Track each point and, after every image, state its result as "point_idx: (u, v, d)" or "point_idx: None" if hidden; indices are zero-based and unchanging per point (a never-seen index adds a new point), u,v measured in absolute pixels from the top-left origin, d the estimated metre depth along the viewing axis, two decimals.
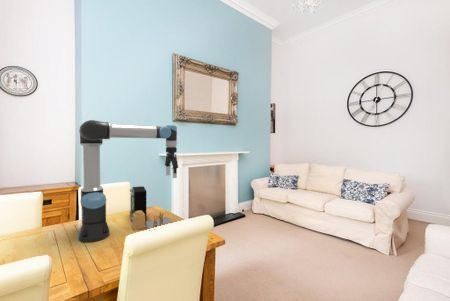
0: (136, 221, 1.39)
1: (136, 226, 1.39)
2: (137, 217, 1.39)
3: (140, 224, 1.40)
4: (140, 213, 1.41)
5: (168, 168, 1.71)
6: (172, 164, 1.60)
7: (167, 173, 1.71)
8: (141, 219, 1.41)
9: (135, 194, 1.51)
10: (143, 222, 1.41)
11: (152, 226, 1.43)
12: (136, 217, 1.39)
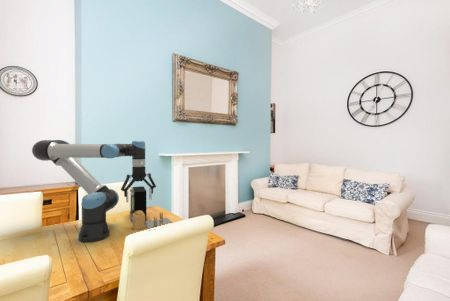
0: (136, 221, 1.39)
1: (136, 226, 1.39)
2: (137, 217, 1.39)
3: (140, 224, 1.40)
4: (140, 213, 1.41)
5: (149, 191, 1.45)
6: None
7: (149, 196, 1.46)
8: (141, 219, 1.41)
9: (135, 194, 1.51)
10: (143, 222, 1.41)
11: (152, 226, 1.43)
12: (136, 217, 1.39)
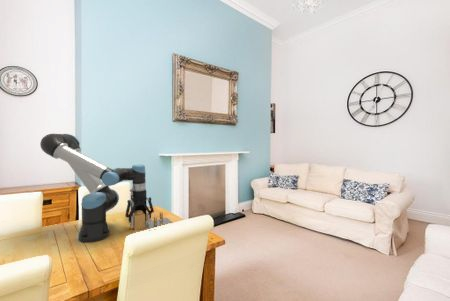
0: (136, 221, 1.39)
1: (136, 226, 1.39)
2: (137, 217, 1.39)
3: (140, 224, 1.40)
4: (140, 213, 1.41)
5: (147, 216, 1.45)
6: None
7: (147, 221, 1.46)
8: (141, 219, 1.41)
9: None
10: (143, 222, 1.41)
11: (152, 226, 1.43)
12: (136, 217, 1.39)
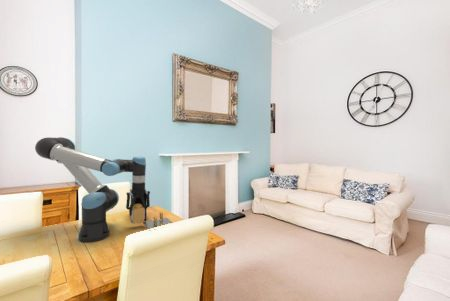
0: (135, 214, 1.39)
1: (135, 219, 1.39)
2: (136, 210, 1.39)
3: (139, 217, 1.40)
4: (139, 206, 1.41)
5: None
6: None
7: None
8: (140, 212, 1.40)
9: None
10: (142, 215, 1.41)
11: (152, 226, 1.43)
12: (135, 210, 1.39)
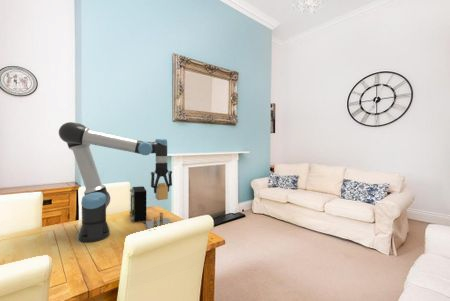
0: (159, 192, 1.49)
1: (160, 197, 1.49)
2: (160, 188, 1.49)
3: (163, 195, 1.50)
4: (163, 185, 1.51)
5: None
6: None
7: None
8: (164, 190, 1.51)
9: (135, 194, 1.51)
10: (166, 193, 1.51)
11: (152, 226, 1.43)
12: (159, 188, 1.49)
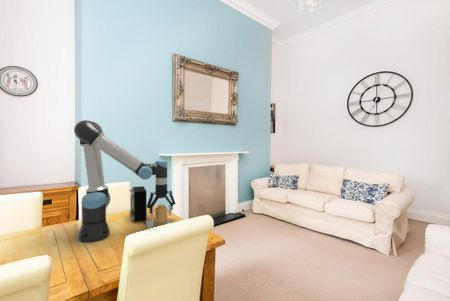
0: (159, 214, 1.50)
1: (159, 219, 1.50)
2: (160, 210, 1.50)
3: (163, 217, 1.51)
4: (163, 207, 1.52)
5: (169, 207, 1.56)
6: None
7: (169, 212, 1.57)
8: (164, 212, 1.51)
9: (135, 194, 1.51)
10: (165, 215, 1.52)
11: (152, 226, 1.43)
12: (159, 210, 1.50)
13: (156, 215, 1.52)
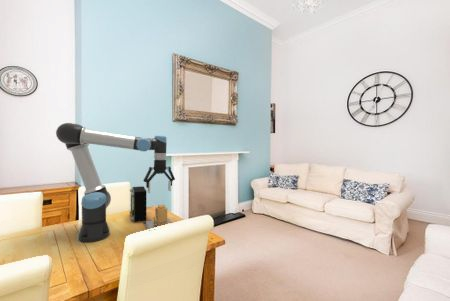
0: (159, 214, 1.50)
1: (159, 219, 1.50)
2: (160, 210, 1.50)
3: (163, 217, 1.51)
4: (163, 207, 1.52)
5: (169, 183, 1.55)
6: None
7: (168, 188, 1.56)
8: (164, 212, 1.51)
9: (135, 194, 1.51)
10: (165, 215, 1.52)
11: (152, 226, 1.43)
12: (159, 210, 1.50)
13: (156, 215, 1.52)
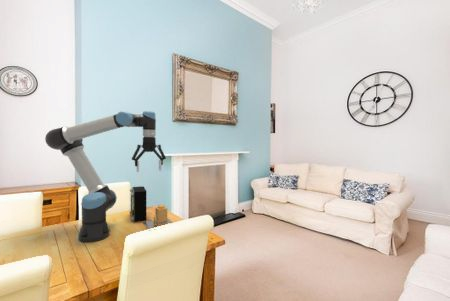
0: (159, 214, 1.50)
1: (159, 219, 1.50)
2: (160, 210, 1.50)
3: (163, 217, 1.51)
4: (163, 207, 1.52)
5: (159, 162, 1.47)
6: None
7: (159, 168, 1.48)
8: (164, 212, 1.51)
9: (135, 194, 1.51)
10: (165, 215, 1.52)
11: (152, 226, 1.43)
12: (159, 210, 1.50)
13: (156, 215, 1.52)
